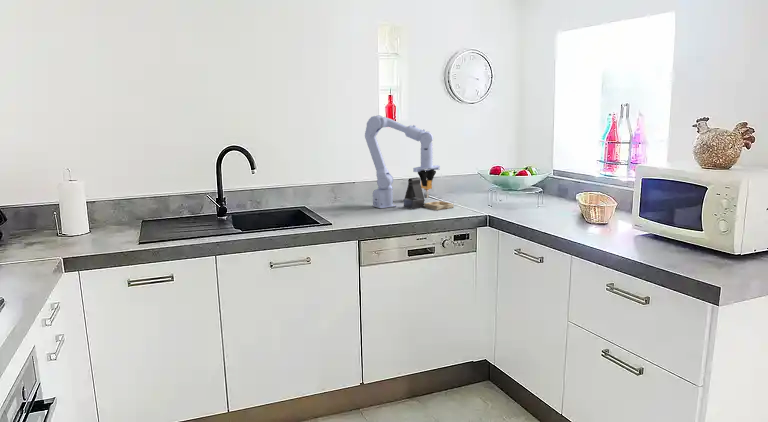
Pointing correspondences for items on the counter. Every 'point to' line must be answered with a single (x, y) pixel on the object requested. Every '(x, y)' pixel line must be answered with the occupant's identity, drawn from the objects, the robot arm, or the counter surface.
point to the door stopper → (414, 189)
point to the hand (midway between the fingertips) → (426, 185)
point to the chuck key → (427, 188)
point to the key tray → (438, 205)
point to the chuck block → (414, 203)
